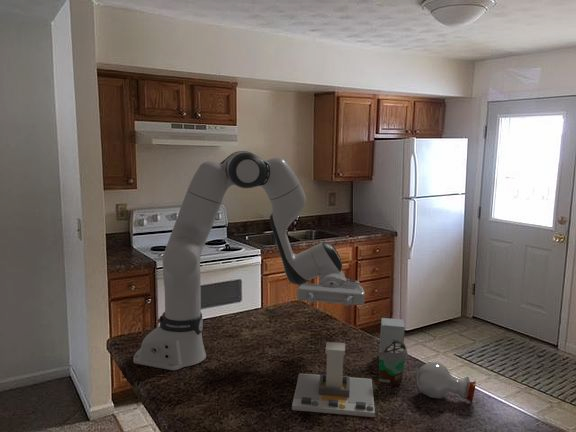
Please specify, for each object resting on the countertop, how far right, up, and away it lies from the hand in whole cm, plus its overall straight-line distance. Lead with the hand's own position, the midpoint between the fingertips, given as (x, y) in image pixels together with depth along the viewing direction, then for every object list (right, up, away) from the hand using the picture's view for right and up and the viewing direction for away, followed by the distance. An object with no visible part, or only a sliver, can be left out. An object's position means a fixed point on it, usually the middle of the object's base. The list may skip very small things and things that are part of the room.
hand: (329, 301), depth 134 cm
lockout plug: (+1, -23, -5) cm, 24 cm away
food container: (+19, -24, +3) cm, 31 cm away
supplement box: (+21, -22, +17) cm, 35 cm away
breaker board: (+1, -24, -7) cm, 25 cm away
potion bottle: (+31, -25, -6) cm, 40 cm away
